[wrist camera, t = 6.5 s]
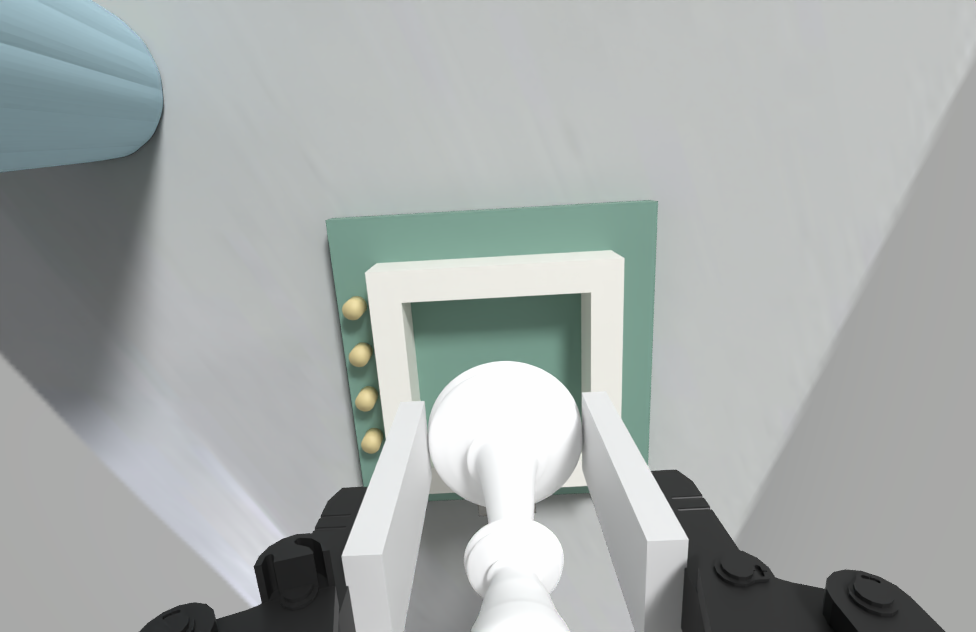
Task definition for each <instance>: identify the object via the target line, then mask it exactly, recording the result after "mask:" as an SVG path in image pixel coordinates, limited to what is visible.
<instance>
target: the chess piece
mask: <svg viewBox="0 0 976 632" xmlns="http://www.w3.org/2000/svg"><path fill="white" fill-rule="evenodd" d="M428 443H429V452H430V456H431V460H432V462H433V465H434V467H435V469H436V471H437V473H438V474H439V476H440V477H441V479H442V480H443V481H444V482H445V484H446V485H447V486H448V487H449V488H450V489H451V490H453V491H454V492H455V493H456V494H458V495H459V496H461V497H462V498H464V499H466V500H468V501H470V502H472V503H475V504H477V505H481V506H484V507H486V511H487V516H488V524H487V525H485V526H484V527H482V528H481V529H480V530H479V531H477V532H476V533H475V534H474V536H473V537H472V538H471V539H470V541H469V543H468V545H467V547H466V550H465V554H464V567H465V571H466V574H467V576H468V580H469V582H470V584H471V586H472V587H473V589H474V590H475V591H476V592H477V593H478V594H479V595H480V596H481V597H482V598H484V599H483V602H482V606H481V610H480V613H479V615H478V617H477V620H476V622H475V623H474V625H473V627H472V629H471V631H470V632H571V631H570V630H569V628H568V626H567V624H566V623H565V621H564V620H563V619H562V617H561V616H560V615H559V613H558V611H557V610H556V608H555V606H554V604H553V602H552V599H551V597H550V595H549V594H550V593H551V592H552V591H553V590H554V589H555V588H556V586H557V584H558V583H559V580H560V578H561V574H562V569H563V564H564V555H563V550H562V547H561V544H560V542H559V540H558V539H557V537H556V536H555V535H554V534H553V533H552V532H551V531H550V530H549V529H548V528H546V527H545V526H543V525H542V524H540V523H538V522H535V521H534V504H535V503H537V502H540V501H542V500H544V499H545V498H547V497H549V496H550V495H552V494H553V493H555V492H556V491H557V490H558V489H559V488H561V487H562V486H563V485H564V484H565V482H566V481H567V480H568V479H569V477H570V476H571V475H572V473H573V471H574V470H575V468H576V466H577V463H578V461H579V458H580V454H581V450H582V424H581V417H580V413H579V410H578V407H577V405H576V402H575V400H574V399H573V397H572V395H571V394H570V392H569V391H568V390H567V388H566V387H565V386H564V385H563V384H562V383H561V382H560V381H559V380H558V379H556V378H555V377H554V376H552V375H551V374H549V373H548V372H546V371H544V370H542V369H540V368H538V367H535V366H533V365H529V364H526V363H521V362H514V361H497V362H490V363H486V364H482V365H479V366H476V367H473V368H471V369H469V370H467V371H465V372H463V373H462V374H460V375H459V376H457V377H456V378H455V379H453V380H452V381H451V382H450V383H449V384H448V385H447V386H446V387H445V388H444V389H443V390H442V392H441V393H440V394H439V396H438V398H437V399H436V401H435V403H434V405H433V408H432V410H431V413H430V417H429V423H428Z"/></svg>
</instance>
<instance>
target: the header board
mask: <svg viewBox="0 0 976 632" xmlns="http://www.w3.org/2000/svg"><path fill="white" fill-rule="evenodd" d="M657 212H658V201H652V200H644V201H626V202H609V203H591V204H574V205H556V206H538V207H521V208H503V209H486V210H468V211H451V212H433V213H416V214H398V215H380V216H363V217H345V218H332V219H328V220H326V227H327V234H328V241H329V248H330V255H331V262H332V269H333V276H334V283H335V290H336V297H337V304H338V311H339V318H340V325H341V332H342V339H343V346H344V353H345V360H346V367H347V374H348V381H349V388H350V395H351V402H352V408H353V415H354V422H355V429H356V436H357V443H358V450H359V457H360V464H361V471H362V478H363V485H364V487H368V486H369V483H370V480H371V478H372V475H373V473H374V470H375V467H376V465H377V462H378V460H379V457H380V454H381V452H382V449H383V446H384V444H385V441H386V439H387V436H388V433H389V431H390V428H391V426H392V423H393V420H394V418H395V415H396V412H397V410H398V407H399V405H400V402H411V401H425V410H426V420H427V431H428V423H429V417H430V413H431V410H432V408H433V405H434V403H435V401H436V399H437V398H438V396H439V394H440V393H441V392H442V390H443V389H444V388H445V387H446V386H447V385H448V384H449V383H450V382H451V381H452V380H453V379H455V378H456V377H457V376H459V375H460V374H462V373H463V372H465V371H467V370H469V369H471V368H473V367H476V366H479V365H482V364H486V363H490V362H497V361H514V362H521V363H526V364H529V365H533V366H535V367H538V368H540V369H542V370H544V371H546V372H548V373H549V374H551V375H552V376H554V377H555V378H556V379H558V380H559V381H560V382H561V383H562V384H563V385H564V386H565V387H566V388H567V390H568V391H569V392H570V394H571V395H572V397H573V399H574V400H575V402H576V405H577V407H578V410H579V413H580V417H581V424H582V393H583V392H602V391H606V392H607V394H608V396H609V398H610V399H611V401H612V403H613V405H614V407H615V408H616V410H617V412H618V414H619V416H620V417H621V419H622V421H623V423H624V424H625V426H626V428H627V430H628V432H629V433H630V435H631V437H632V439H633V441H634V442H635V444H636V446H637V448H638V450H639V451H640V453H641V455H642V457H643V458H644V460H645V462H646V464H647V466H648V450H649V424H650V397H651V371H652V344H653V318H654V291H655V265H656V238H657ZM430 461H431V471H432V480H431V485H430V491H429V496H428V501H440V500H460V499H464V498H462V497H461V496H459V495H458V494H456V493H455V492H454V491H453V490H451V489H450V488H449V487H448V486H447V485H446V484H445V482H444V481H443V480H442V479H441V477H440V476H439V474H438V473H437V471H436V469H435V467H434V465H433V462H432V460H431V456H430ZM579 493H590V492H589V489H588V486H587V483H586V480H585V477H584V474H583V471H582V450H581V454H580V458H579V461H578V463H577V466H576V468H575V470H574V471H573V473H572V475H571V476H570V477H569V479H568V480H567V481H566V482H565V484H564V485H563V486H562V487H561V488H559V489H558V490H557V491H556V492H555V493H553V494H552V495H559V494H579ZM478 510H479V516H487V511H486V507H484V506H481V505H478ZM534 513H536V503H535V504H534Z"/></svg>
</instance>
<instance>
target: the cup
mask: <svg viewBox="0 0 976 632" xmlns="http://www.w3.org/2000/svg"><path fill="white" fill-rule="evenodd" d="M162 108H163V92H162V84H161V78H160V74H159V71H158V68H157V66H156V64H155V61H154V59H153V57H152V55H151V54H150V52H149V50H148V48H147V47H146V45H145V43H144V42H143V41H142V39H141V38H140V37H139V36H138V35H137V34H136V33H135V32H134V31H133V30H132V29H131V28H129V27H128V26H127V25H126V24H125V23H124V22H123V21H122V20H121V19H119V18H118V17H117V16H115V15H114V14H112V13H111V12H109V11H108V10H106V9H105V8H103V7H102V6H100V5H98V4H97V3H95V2H93V1H92V0H0V172H8V171H17V170H25V169H34V168H43V167H52V166H61V165H69V164H78V163H87V162H94V161H102V160H108V159H113V158H119V157H124V156H128V155H130V154H132V153H134V152H135V151H137V150H138V149H139V148H140V147H141V146H143V145H144V144H145V143H146V142H147V141H148V140H149V139H150V138H151V137H152V135H153V134H154V132H155V130H156V128H157V125H158V123H159V120H160V117H161V113H162Z"/></svg>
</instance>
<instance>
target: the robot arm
mask: <svg viewBox="0 0 976 632" xmlns="http://www.w3.org/2000/svg"><path fill="white" fill-rule="evenodd" d="M582 471H583V474H584V477H585V480H586V483H587V486H588V489H589V492H590V495H591V498H592V501H593V504H594V507H595V510H596V513H597V517H598V520H599V523H600V526H601V529H602V532H603V535H604V538H605V541H606V544H607V547H608V550H609V553H610V556H611V559H612V562H613V566H614V569H615V572H616V575H617V578H618V581H619V584H620V587H621V590H622V593H623V596H624V599H625V602H626V605H627V608H628V611H629V614H630V618H631V621H632V624H633V627H634V630H635V632H945V631H944V630H943V629H942V628H941V627H940V626H939V625H938V624H937V623H936V622H935V621H934V620H933V619H932V618H931V617H930V616H929V615H928V614H927V613H926V612H925V611H924V610H923V609H922V608H921V607H920V606H919V605H918V604H917V603H916V602H915V601H914V600H913V599H912V598H911V597H910V596H909V595H907V594H906V593H905V592H904V591H902V590H901V589H900V588H898V587H897V586H896V585H894V584H892V583H890V582H888V581H886V580H884V579H883V578H881V577H878V576H875V575H872V574H869V573H866V572H863V571H856V570H841V571H837V572H833V573H832V574H831V575H830V576H829V577H828V578H827V581H826V587H825V589H823V588H818V587H813V586H807V585H802V584H797V583H792V582H789V581H784V580H781V579H778V578H775V577H774V575H773V573H772V572H771V570H770V569H769V567H767V566H766V565H765V564H764V563H763V562H761V561H760V560H759V559H758V558H756V557H754V556H752V555H750V554H748V553H746V552H744V551H740V550H739V549H738V547H737V546H736V544H735V543H734V541H733V540H732V538H731V537H730V536H729V534H728V533H727V531H726V530H725V528H724V527H723V525H722V524H721V522H720V521H719V519H718V518H717V516H716V515H715V513H714V512H713V510H710V506H709V505H708V503H707V502H706V500H705V499H704V498H702V494H701V493H700V491H699V490H698V488H697V487H696V485H695V484H694V482H693V481H692V480H690V479H689V478H687V477H686V476H685V475H683V474H682V473H680V472H679V471H678V470H661V471H650V469H649V467H648V466H647V464H646V462H645V460H644V458H643V457H642V455H641V453H640V451H639V450H638V448H637V446H636V444H635V442H634V441H633V439H632V437H631V435H630V433H629V432H628V430H627V428H626V426H625V424H624V423H623V421H622V419H621V417H620V416H619V414H618V412H617V410H616V408H615V407H614V405H613V403H612V401H611V399H610V398H609V396H608V394H607V392H606V391H602V392H583V393H582ZM431 480H432V471H431V461H430V452H429V443H428V431H427V420H426V410H425V401H411V402H400V405H399V407H398V410H397V412H396V415H395V418H394V420H393V423H392V426H391V428H390V431H389V433H388V436H387V439H386V441H385V444H384V446H383V449H382V452H381V454H380V457H379V460H378V462H377V465H376V467H375V470H374V473H373V475H372V478H371V480H370V483H369V486H368V487H351V488H342V489H341V490H339V491H338V492H337V493H336V494H335V495H334V496H333V497H332V498H331V499H330V500H329V501H328V502H327V504H326V506H325V508H324V510H323V512H322V514H321V518H320V519H319V520H318V523H317V525H316V527H315V531H313V533H312V534H310V533H307V534H296V535H293V536H290V537H287V538H284V539H281V540H280V541H278V542H276V543H275V544H273V545H271V546H269V547H268V548H267V549H266V550H265V551H264V552H263V553H262V554H261V555H260V556H259V558H258V560H257V561H256V563H255V565H254V569H255V574H256V579H257V583H258V588H259V592H260V597H261V601H262V604H260V605H258V606H256V607H253V608H251V609H248V610H246V611H242V612H239V613H236V614H232V615H229V616H226V617H222V618H219V619H216V618H215V614H214V610H213V609H212V608H211V607H209V606H208V605H207V604H202V603H189V604H184V605H179V606H177V607H174V608H172V609H170V610H168V611H165V612H163V613H162V614H160V615H159V616H157V617H156V618H155V619H153V620H151V621H150V622H149V623H147V625H145V626H144V628H142V630H141V631H140V632H404V629H405V623H406V618H407V612H408V607H409V601H410V596H411V590H412V585H413V579H414V574H415V568H416V563H417V557H418V552H419V546H420V541H421V535H422V529H423V524H424V518H425V513H426V507H427V502H428V496H429V491H430V485H431Z"/></svg>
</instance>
